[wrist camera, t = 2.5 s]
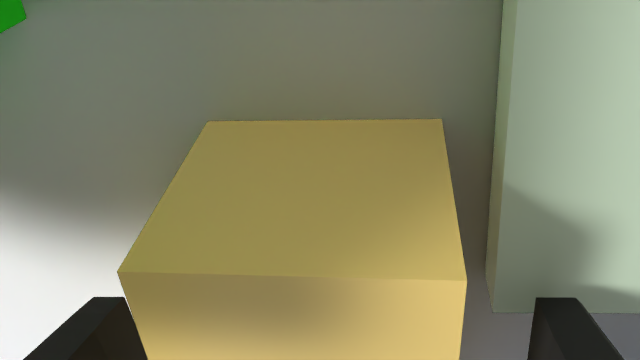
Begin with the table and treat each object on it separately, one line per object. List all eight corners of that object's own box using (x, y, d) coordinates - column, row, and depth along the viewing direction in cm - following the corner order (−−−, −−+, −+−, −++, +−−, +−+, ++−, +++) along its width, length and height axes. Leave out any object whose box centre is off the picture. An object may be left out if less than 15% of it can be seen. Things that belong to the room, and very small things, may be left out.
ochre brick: (425, 382, 13) (436, 574, 10) (259, 373, 14) (216, 554, 10) (440, 114, 9) (467, 280, 6) (209, 116, 10) (116, 271, 7)
